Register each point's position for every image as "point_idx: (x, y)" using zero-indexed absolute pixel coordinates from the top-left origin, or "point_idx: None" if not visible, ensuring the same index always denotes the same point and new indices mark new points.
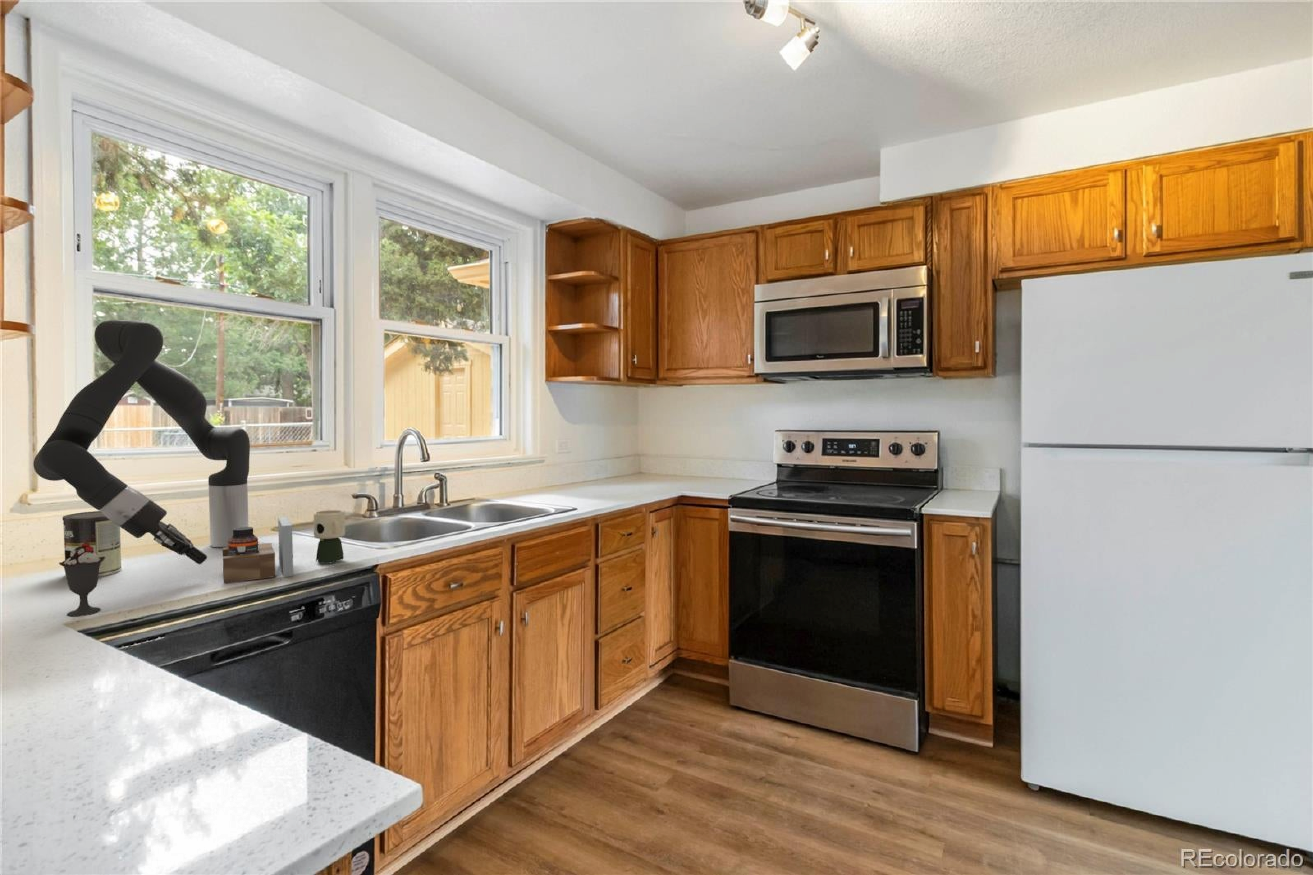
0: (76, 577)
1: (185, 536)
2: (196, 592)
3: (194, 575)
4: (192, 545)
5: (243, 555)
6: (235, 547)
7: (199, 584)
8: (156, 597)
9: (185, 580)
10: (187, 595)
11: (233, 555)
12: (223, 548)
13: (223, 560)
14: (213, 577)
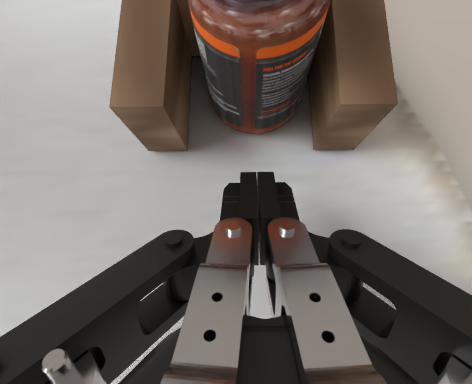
0: None
1: (204, 264)
2: (425, 227)
3: (148, 239)
4: (290, 221)
5: (361, 29)
6: (316, 32)
7: (306, 221)
8: None
9: None
10: (457, 253)
11: (336, 65)
12: (131, 103)
13: (392, 106)
14: (221, 181)
